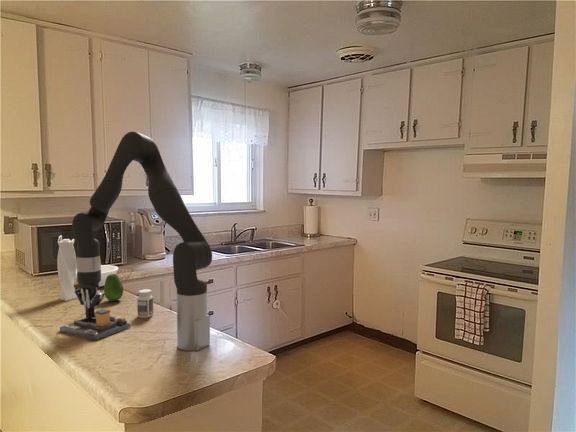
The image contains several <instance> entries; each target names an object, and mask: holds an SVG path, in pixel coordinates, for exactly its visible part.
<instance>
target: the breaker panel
mask: <svg viewBox="0 0 576 432" xmlns="http://www.w3.org/2000/svg"><path fill="white" fill-rule="evenodd" d="M130 328H131V324H130V322H129V323H128V322H127V323H126V324H124V325H119V324H117V322H112V321H110V324H108V325H105V326H102V327H101V326H97V325H96V318H95V317H93V318H86V317H83V318H81V319H77V320H74V321H73V322H72V323H69V324H64V325H62V326H60V327H59V332H61V333H64V334H67V335H71V336H75V337H79V338H83V339H85V340H86V339H87V340H91V341H94V342H96V341H98V340H99V341H100V340H101V339H104V338H107V337H109V336H112V335H114V334H116V333H119V332H122V331H124V330H127V329H130Z"/></svg>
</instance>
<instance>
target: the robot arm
mask: <svg viewBox="0 0 576 432" xmlns="http://www.w3.org/2000/svg"><path fill="white" fill-rule="evenodd" d="M133 161H134V162H137V163H139V164H140V167H142V169H143V170H144V173H145V174H146V177H147V181H148V185H147V187H148V188H147V191H148V192H147V194H148V198H149V201H150V203H151V204H152V208H154V211H155V212H156V215H157V216H159V217H160V219H161V220H162V221H164V222H165V223H166V224H167V225H168V226H170V227H171V228H172V229H174V230H175V231H176V233H178V235H179V236H180V237H181V239H182V241H183V242H180V243H177V244H176V246H175V247H174V250H173V253H172V268H173V281H174V284H175V288H176V330H177V331H176V333H177V336H176V338H177V339H176V340H177V348H178V350H181V351H186V352H187V351H188V352H189V351H196V352H198V351H199V352H200V350H202V349H204V348H206V347H208V346H209V345H210V344H211V337H210V336H211V330H210V329H211V328H210V326H211V323H210V322H211V320H210V317H211V316H210V315H209V314H208V284H207V282H206V281H204V280H202V279H198V275H197V273H198V272H197V271H198V270H201V269H205V268H207V267H209V266H210V265H211V263H212V262H213V252H212V249H211V246H210V245H209V242H208V241H207V239H206V238H205V237H204V235H203V234H202V232H201V231H200V229H199V227H198V225H197V224H196V223H195V220H194V219H193V217H192V216H191V213H190V212H189V210H188V208H187V206H186V205H185V202H184V200H183V197H182V196H181V194H180V192H179V191H178V189H177V187H176V185H175V183H174V181H173V180H172V179H173V178H172V176H170V173H169V172H168V169H167V167H166V165H165V163H164V161H163V158H162V156H161V152H160V150H159V147H158V145H157V143H156V142H155V141H154V140H153V139H152V138H151V137H149V136H147V135H145V134H142V133H140V132H138V131H129V132H127V133H125V134H124V135H123V137H122V138H121V140H120V141H119V144H118V145H117V148H116V150H115V152H114V155H113V156H112V159H111V161H110V163H109V165H108V168H107V170H106V172H105V175H104V177H103V179H102V181H101V182H100V183H99V185H98V187H97V188H96V189H95V191H94V192H93V194H92V195H91V197H90V199H89V205H90V208H89V209H88V211H85V212H78V213H77V214H75V215H74V217H73V219H72V222H71V227H72V234H73V236H74V240H75V243H76V245H77V246H76V250H77V251H76V252H77V255H76V260H77V279H76V282H77V284H79V286H78V287H79V288H77V289H75V293H76V295H77V299H78V301H79V303H80V305H81V306H83V307H84V308H85V309H84V310H85V318H93V317H94V315H95V314H94V312H95V308H96V307H98V306H99V305H100V304H101V302H102V300H103V299H104V297H105V294H104V292H101V291H100V287H99V282H100V281H101V265H102V262H101V261H102V260H101V251H100V250H101V245H100V241H99V240H98V239H96V238H95V237H94V232H96V231H99V230H100V229H101V228H102V227H103V225H104V224H105V222H106V220H107V217H108V215H109V211H110V209H111V208H112V207H113V205H114V204H115V202H116V200H117V199H118V197H119V196H120V193H121V191H122V189H123V180H124V174H125V172H126V170H127V168H128V167H129V165H130V164H131V162H133Z"/></svg>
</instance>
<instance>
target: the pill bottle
mask: <svg viewBox="0 0 576 432" xmlns="http://www.w3.org/2000/svg"><path fill="white" fill-rule="evenodd" d="M136 299H137V300H136V301H137V302H136V303H137V317H138V318H140V319H141V318H142V319H143V318H144V319H147V318H150V317H152V316H153V315H154V297H153V295H152V290H151V289H149V288H148V289H147V288H146V289H140V290H138V296H137V298H136Z"/></svg>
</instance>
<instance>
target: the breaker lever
mask: <svg viewBox="0 0 576 432" xmlns="http://www.w3.org/2000/svg"><path fill="white" fill-rule="evenodd" d="M95 312H96V325H97V326H101V327H102V326H105V325H108V324H110V315H111V314H110V313H111V310H110V309H106V308H103V309H99V310H97V311H96V310H95Z"/></svg>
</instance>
